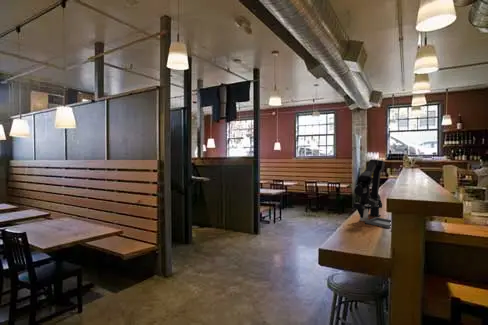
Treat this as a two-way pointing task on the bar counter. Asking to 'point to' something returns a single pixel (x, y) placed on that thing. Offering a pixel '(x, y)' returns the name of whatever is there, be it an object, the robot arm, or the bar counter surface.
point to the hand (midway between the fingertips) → (363, 217)
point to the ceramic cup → (364, 215)
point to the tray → (379, 222)
